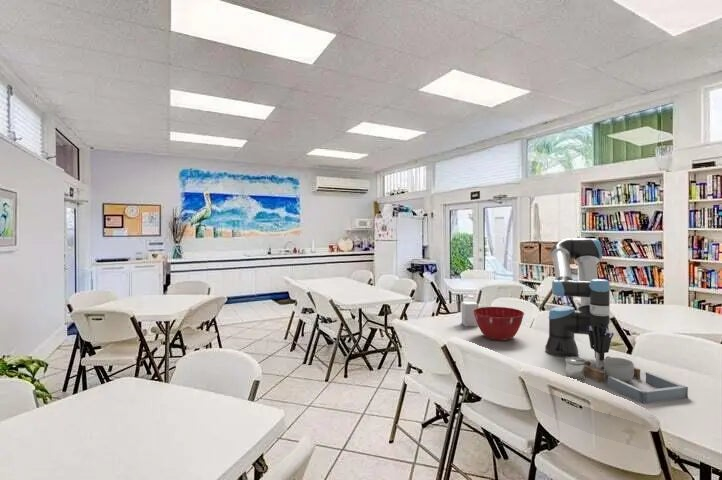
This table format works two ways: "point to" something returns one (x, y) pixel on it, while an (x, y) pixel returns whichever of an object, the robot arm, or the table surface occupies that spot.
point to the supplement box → (469, 313)
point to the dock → (666, 391)
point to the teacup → (619, 368)
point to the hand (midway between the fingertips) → (599, 366)
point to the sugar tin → (575, 368)
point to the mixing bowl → (498, 322)
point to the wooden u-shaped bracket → (600, 375)
